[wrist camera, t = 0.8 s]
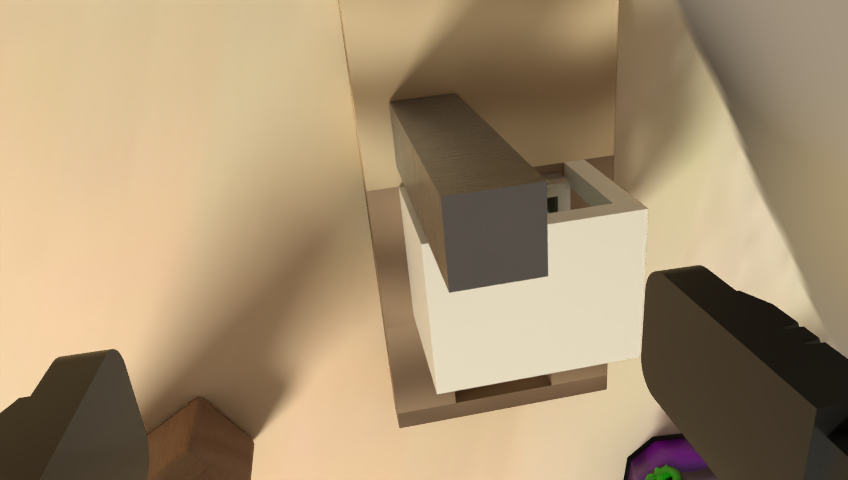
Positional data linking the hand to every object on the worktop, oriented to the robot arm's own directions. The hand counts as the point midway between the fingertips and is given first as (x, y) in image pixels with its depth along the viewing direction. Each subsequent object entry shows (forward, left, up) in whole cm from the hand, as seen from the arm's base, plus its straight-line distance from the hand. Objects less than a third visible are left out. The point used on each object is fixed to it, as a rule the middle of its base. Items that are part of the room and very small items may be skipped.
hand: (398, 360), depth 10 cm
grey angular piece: (+6, +6, -20) cm, 22 cm away
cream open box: (+8, +7, -20) cm, 23 cm away
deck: (+7, +7, -22) cm, 24 cm away
